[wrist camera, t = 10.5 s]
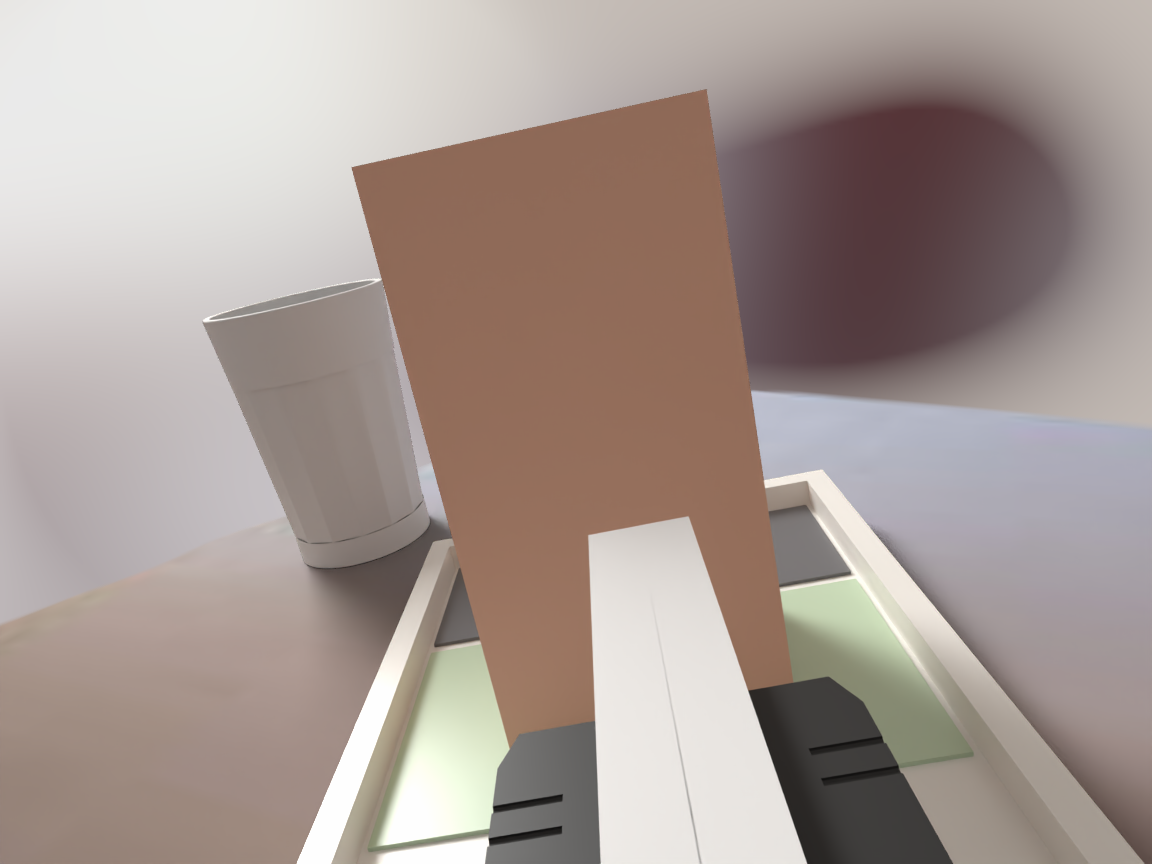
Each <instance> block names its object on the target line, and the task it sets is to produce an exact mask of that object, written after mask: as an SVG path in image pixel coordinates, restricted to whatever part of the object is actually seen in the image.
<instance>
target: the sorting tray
mask: <svg viewBox="0 0 1152 864" xmlns="http://www.w3.org/2000/svg"><path fill="white" fill-rule="evenodd" d="M764 485H765V492H766V499H767V505H768V512H769V519H770V526H771V533H772V540H773V546H774V553H775V560H776V567H777V574H778V580H779V587H780V594H781V601H782V608H783V615H784V621H785V628H786V635H787V642H788V649H789V655H790V662H791V669H792V676H793V683H794V682H800V681H805V680H811V679H817V678H822V677H828V676H829V677H830V678H832V679H833V680H834V681H836V682H837V683H838V684H840V685H841V686H843V687H844V688H845V689H847V690H848V691H849V692H851V693H852V694H853V695H855V696H856V697H858V698H859V699H860V700H862V701H863V702H864V704H865V706H866V708H867V709H868V711H869V713H870V715H871V716H872V718H873V720H874V722H875V724H876V725H877V727H878V729H879V731H880V733H881V734H882V737H883V741H884V743H887V745H888V747H889V749H890V751H891V752H892V754H893V756H894V758H895V760H896V761H897V763H898V765H899V769H900V772H901V773H903V774H904V776H905V778H906V779H907V781H908V783H909V785H910V787H911V788H912V790H913V792H914V794H915V796H916V797H917V799H918V801H919V803H920V805H921V806H922V808H923V810H924V812H925V814H926V815H927V817H928V819H929V821H930V823H931V824H932V826H933V828H934V830H935V832H936V833H937V835H938V837H939V839H940V841H941V842H942V844H943V846H944V848H945V850H946V851H947V853H948V855H949V857H950V859H951V860H952V862H953V864H1144V862H1143V861H1142V860H1141V859H1140V857H1139V856H1138V855H1137V854H1136V853H1135V851H1134V850H1133V849H1132V848H1131V846H1130V845H1129V844H1128V843H1127V842H1126V840H1125V839H1124V838H1123V837H1122V835H1121V834H1120V833H1119V832H1118V831H1117V829H1116V828H1115V827H1114V826H1113V824H1112V823H1111V822H1110V821H1109V820H1108V818H1107V817H1106V816H1105V815H1104V813H1103V812H1102V811H1101V810H1100V809H1099V807H1098V806H1097V805H1096V804H1095V802H1094V801H1093V800H1092V799H1091V798H1090V796H1089V795H1088V794H1087V793H1086V791H1085V790H1084V789H1083V788H1082V787H1081V785H1080V784H1079V783H1078V782H1077V780H1076V779H1075V778H1074V777H1073V776H1072V774H1071V773H1070V772H1069V771H1068V769H1067V768H1066V767H1065V766H1064V765H1063V763H1062V762H1061V761H1060V760H1059V758H1058V757H1057V756H1056V755H1055V754H1054V752H1053V751H1052V750H1051V749H1050V747H1049V746H1048V745H1047V744H1046V743H1045V741H1044V740H1043V739H1042V738H1041V736H1040V735H1039V734H1038V733H1037V732H1036V730H1035V729H1034V728H1033V727H1032V725H1031V724H1030V723H1029V722H1028V720H1027V719H1026V718H1025V717H1024V716H1023V714H1022V713H1021V712H1020V711H1019V709H1018V708H1017V707H1016V706H1015V705H1014V703H1013V702H1012V701H1011V700H1010V698H1009V697H1008V696H1007V695H1006V694H1005V692H1004V691H1003V690H1002V689H1001V687H1000V686H999V685H998V684H997V683H996V681H995V680H994V679H993V678H992V676H991V675H990V674H989V673H988V672H987V670H986V669H985V668H984V667H983V665H982V664H981V663H980V662H979V661H978V659H977V658H976V657H975V656H974V654H973V653H972V652H971V651H970V650H969V648H968V647H967V646H966V645H965V643H964V642H963V641H962V640H961V639H960V637H959V636H958V635H957V634H956V632H955V631H954V630H953V629H952V628H951V626H950V625H949V624H948V623H947V621H946V620H945V619H944V618H943V617H942V615H941V614H940V613H939V612H938V610H937V609H936V608H935V607H934V606H933V604H932V603H931V602H930V601H929V599H928V598H927V597H926V596H925V595H924V593H923V592H922V591H921V590H920V588H919V587H918V586H917V585H916V584H915V582H914V581H913V580H912V579H911V577H910V576H909V575H908V574H907V573H906V571H905V570H904V569H903V568H902V566H901V565H900V564H899V563H898V561H897V560H896V559H895V558H894V557H893V555H892V554H891V553H890V552H889V550H888V549H887V548H886V547H885V546H884V544H883V543H882V542H881V541H880V539H879V538H878V537H877V536H876V535H875V533H874V532H873V531H872V530H871V528H870V527H869V526H868V525H867V524H866V522H865V521H864V520H863V519H862V517H861V516H860V515H859V514H858V513H857V511H856V510H855V509H854V508H853V506H852V505H851V504H850V503H849V502H848V500H847V499H846V498H845V497H844V495H843V494H842V493H841V492H840V491H839V489H838V488H837V487H836V486H835V484H834V483H833V482H832V481H831V480H830V478H829V477H828V476H827V475H826V473H825V472H824V471H823V470H817V471H811V472H806V473H801V474H795V475H790V476H784V477H779V478H774V479H768V480H764ZM509 750H510V748H509V745H508V741H507V737H506V734H505V730H504V726H503V723H502V719H501V715H500V711H499V708H498V704H497V700H496V697H495V693H494V689H493V686H492V682H491V678H490V675H489V671H488V667H487V664H486V660H485V656H484V653H483V649H482V645H481V642H480V638H479V634H478V631H477V627H476V623H475V620H474V616H473V612H472V609H471V605H470V601H469V598H468V594H467V590H466V587H465V583H464V579H463V575H462V572H461V568H460V564H459V561H458V557H457V553H456V550H455V546H454V542H453V539H452V538H450V539H444V540H439V541H434V542H433V543H432V546H431V548H430V550H429V553H428V555H427V557H426V560H425V562H424V564H423V567H422V569H421V572H420V574H419V576H418V579H417V581H416V583H415V586H414V588H413V590H412V593H411V595H410V598H409V600H408V602H407V605H406V607H405V609H404V612H403V614H402V616H401V619H400V621H399V624H398V626H397V628H396V631H395V633H394V635H393V638H392V640H391V642H390V645H389V647H388V650H387V652H386V654H385V657H384V659H383V661H382V664H381V666H380V668H379V671H378V673H377V676H376V678H375V680H374V683H373V685H372V687H371V690H370V692H369V694H368V697H367V699H366V702H365V704H364V706H363V709H362V711H361V713H360V716H359V718H358V720H357V723H356V725H355V728H354V730H353V732H352V735H351V737H350V739H349V742H348V744H347V746H346V749H345V751H344V754H343V756H342V758H341V761H340V763H339V765H338V768H337V770H336V772H335V775H334V777H333V780H332V782H331V784H330V787H329V789H328V791H327V794H326V796H325V798H324V801H323V803H322V806H321V808H320V810H319V813H318V815H317V817H316V820H315V822H314V824H313V827H312V829H311V832H310V834H309V836H308V839H307V841H306V843H305V846H304V848H303V850H302V853H301V855H300V858H299V860H298V862H297V864H485V859H486V851H487V847H488V846H489V840H488V836H489V829H490V821H491V814H493V798H494V791H495V783H496V776H497V768H498V767H499V765H500V764H501V762H502V761H503V759H504V757H505V756H506V754H507V753H508V751H509Z"/></svg>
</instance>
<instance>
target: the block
mask: <svg viewBox="0 0 1152 864" xmlns="http://www.w3.org/2000/svg"><path fill="white" fill-rule="evenodd" d="M352 171H353V175H354V178H355V182H356V186H357V189H358V193H359V197H360V201H361V204H362V208H363V211H364V215H365V219H366V223H367V226H368V230H369V234H370V237H371V241H372V245H373V248H374V252H375V256H376V259H377V263H378V267H379V270H380V274H381V278H382V281H383V285H384V289H385V292H386V296H387V300H388V303H389V307H390V311H391V314H392V318H393V322H394V326H395V329H396V333H397V337H398V340H399V344H400V348H401V351H402V355H403V359H404V362H405V366H406V370H407V373H408V377H409V380H410V384H411V388H412V392H413V395H414V399H415V403H416V406H417V410H418V413H419V417H420V421H421V425H422V428H423V432H424V435H425V439H426V443H427V446H428V450H429V454H430V458H431V462H432V465H433V469H434V473H435V476H436V480H437V484H438V487H439V491H440V495H441V498H442V502H443V506H444V509H445V513H446V517H447V520H448V524H449V528H450V531H451V535H452V539H453V542H454V546H455V550H456V553H457V557H458V561H459V564H460V568H461V572H462V575H463V579H464V583H465V587H466V590H467V594H468V598H469V601H470V605H471V609H472V612H473V616H474V620H475V623H476V627H477V631H478V634H479V638H480V642H481V645H482V649H483V653H484V656H485V660H486V664H487V667H488V671H489V675H490V678H491V682H492V686H493V689H494V693H495V697H496V700H497V704H498V708H499V711H500V715H501V719H502V723H503V726H504V730H505V734H506V737H507V741H508V745H509V748H511V746H512V745H513V743H514V742H515V740H516V739H517V737H518V736H519V734H523V733H528V732H534V731H540V730H545V729H551V728H557V727H562V726H568V725H574V724H579V723H585V722H591V721H595V700H594V673H593V647H592V620H591V594H590V567H589V541H588V535H592V534H597V533H602V532H608V531H613V530H618V529H624V528H629V527H634V526H639V525H645V524H650V523H655V522H660V521H666V520H671V519H676V518H682V517H687V516H689V519H690V522H691V525H692V528H693V531H694V534H695V537H696V540H697V542H698V545H699V548H700V551H701V554H702V557H703V560H704V563H705V566H706V569H707V572H708V575H709V578H710V581H711V583H712V586H713V589H714V592H715V595H716V598H717V601H718V604H719V607H720V610H721V613H722V616H723V619H724V622H725V624H726V627H727V630H728V633H729V636H730V639H731V642H732V645H733V648H734V651H735V654H736V657H737V660H738V663H739V666H740V668H741V671H742V674H743V677H744V680H745V683H746V686H747V689H748V690H754V689H760V688H766V687H771V686H777V685H783V684H788V683H793V676H792V669H791V662H790V655H789V649H788V642H787V635H786V628H785V621H784V615H783V608H782V601H781V594H780V587H779V580H778V574H777V567H776V560H775V553H774V546H773V540H772V533H771V526H770V519H769V512H768V505H767V499H766V492H765V485H764V478H763V471H762V464H761V458H760V451H759V444H758V437H757V430H756V424H755V417H754V410H753V403H752V396H751V389H750V383H749V376H748V369H747V362H746V355H745V349H744V342H743V335H742V328H741V321H740V314H739V308H738V301H737V294H736V287H735V281H734V274H733V267H732V260H731V253H730V246H729V239H728V233H727V226H726V219H725V212H724V205H723V198H722V192H721V186H720V179H719V171H718V165H717V158H716V151H715V144H714V137H713V130H712V123H711V117H710V110H709V103H708V96H707V90H706V89H705V90H700V91H696V92H692V93H687V94H682V95H678V96H673V97H669V98H664V99H659V100H655V101H650V102H646V103H641V104H637V105H632V106H628V107H623V108H619V109H615V110H610V111H606V112H600V113H596V114H591V115H587V116H582V117H578V118H573V119H569V120H564V121H560V122H555V123H551V124H546V125H542V126H537V127H532V128H528V129H523V130H519V131H514V132H510V133H505V134H501V135H496V136H492V137H487V138H483V139H478V140H473V141H469V142H464V143H460V144H455V145H451V146H446V147H442V148H438V149H433V150H428V151H423V152H419V153H415V154H410V155H406V156H401V157H396V158H392V159H387V160H383V161H378V162H374V163H369V164H365V165H360V166H356V167H352Z"/></svg>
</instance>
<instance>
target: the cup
mask: <svg viewBox="0 0 1152 864" xmlns="http://www.w3.org/2000/svg"><path fill="white" fill-rule="evenodd" d="M203 324H204V327H205V329H206V331H207V333H208V335H209V338H210V340H211V342H212V345H213V347H214V349H215V351H216V354H217V356H218V358H219V360H220V362H221V365H222V367H223V369H224V372H225V374H226V376H227V378H228V381H229V383H230V385H231V387H232V389H233V391H234V393H235V396H236V398H237V400H238V403H239V405H240V408H241V410H242V412H243V415H244V417H245V419H246V422H247V424H248V426H249V429H250V431H251V433H252V436H253V438H254V440H255V443H256V445H257V447H258V450H259V452H260V455H261V457H262V459H263V462H264V464H265V466H266V468H267V471H268V473H269V476H270V478H271V480H272V483H273V485H274V487H275V490H276V492H277V494H278V496H279V499H280V501H281V503H282V506H283V508H284V511H285V513H286V515H287V518H288V520H289V522H290V525H291V527H292V529H293V532H294V534H295V537H296V540H297V543H298V546H299V549H300V552H301V555H302V558H303V561H304V562H305V563H306V564H307V565H309V566H312V567H316V568H340V567H347V566H352V565H357V564H361V563H365V562H368V561H372V560H375V559H378V558H381V557H383V556H386V555H388V554H391V553H393V552H395V551H397V550H399V549H401V548H403V547H405V546H407V545H408V544H410V543H412V542H413V541H415V540H416V539H417V538H419V537H420V536H421V535H422V534H423V533H424V532H425V531H426V530H427V528H428V526H429V524H430V518H429V515H428V511H427V508H426V504H425V500H424V497H423V494H422V491H421V486H420V481H419V476H418V471H417V466H416V461H415V456H414V451H413V446H412V441H411V436H410V430H409V426H408V420H407V415H406V411H405V405H404V401H403V395H402V390H401V385H400V380H399V375H398V369H397V364H396V359H395V354H394V350H393V348H394V343H393V338H392V332H391V327H390V321H389V316H388V310H387V304H386V299H385V293H384V288H383V282H382V279H367V280H361V281H354V282H349V283H343V284H338V285H333V286H328V287H323V288H319V289H314V290H309V291H304V292H300V293H296V294H291V295H287V296H283V297H279V298H275V299H271V300H267V301H263V302H259V303H255V304H251V305H248V306H244V307H240V308H236V309H233V310H229V311H226V312H223V313H220V314H217V315H214V316H211V317H208V318H206V319H204V320H203Z"/></svg>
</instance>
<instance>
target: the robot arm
mask: <svg viewBox="0 0 1152 864" xmlns="http://www.w3.org/2000/svg"><path fill="white" fill-rule="evenodd" d="M588 541H589V567H590V594H591V620H592V647H593V673H594V700H595V721H591V722H585V723H579V724H574V725H568V726H562V727H557V728H551V729H545V730H540V731H534V732H528V733H523V734H519V736H518V737H517V739H516V740H515V742H514V743H513V745H512V746H511V748H510V750H509V751H508V753H507V754H506V756H505V757H504V759H503V761H502V762H501V764H500V765H499V767H498V768H497V776H496V783H495V791H494V798H493V814H491V821H490V829H489V836H488V840H489V846H488V847H487V851H486V859H485V864H953V862H952V860H951V859H950V857H949V855H948V853H947V851H946V850H945V848H944V846H943V844H942V842H941V841H940V839H939V837H938V835H937V833H936V832H935V830H934V828H933V826H932V824H931V823H930V821H929V819H928V817H927V815H926V814H925V812H924V810H923V808H922V806H921V805H920V803H919V801H918V799H917V797H916V796H915V794H914V792H913V790H912V788H911V787H910V785H909V783H908V781H907V779H906V778H905V776H904V774H903V773H901V772H900V769H899V765H898V763H897V761H896V760H895V758H894V756H893V754H892V752H891V751H890V749H889V747H888V745H887V743H884V741H883V737H882V734H881V733H880V731H879V729H878V727H877V725H876V724H875V722H874V720H873V718H872V716H871V715H870V713H869V711H868V709H867V708H866V706H865V704H864V702H863V701H862V700H860V699H859V698H858V697H856V696H855V695H853V694H852V693H851V692H849V691H848V690H847V689H845V688H844V687H843V686H841V685H840V684H838V683H837V682H836V681H834V680H833V679H832V678H830V677H829V676H828V677H822V678H817V679H811V680H805V681H800V682H794V683H788V684H783V685H777V686H771V687H766V688H760V689H754V690H748V689H747V686H746V683H745V680H744V677H743V674H742V671H741V668H740V666H739V663H738V660H737V657H736V654H735V651H734V648H733V645H732V642H731V639H730V636H729V633H728V630H727V627H726V624H725V622H724V619H723V616H722V613H721V610H720V607H719V604H718V601H717V598H716V595H715V592H714V589H713V586H712V583H711V581H710V578H709V575H708V572H707V569H706V566H705V563H704V560H703V557H702V554H701V551H700V548H699V545H698V542H697V540H696V537H695V534H694V531H693V528H692V525H691V522H690V519H689V516H687V517H682V518H676V519H671V520H666V521H660V522H655V523H650V524H645V525H639V526H634V527H629V528H624V529H618V530H613V531H608V532H602V533H597V534H592V535H588Z"/></svg>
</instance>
